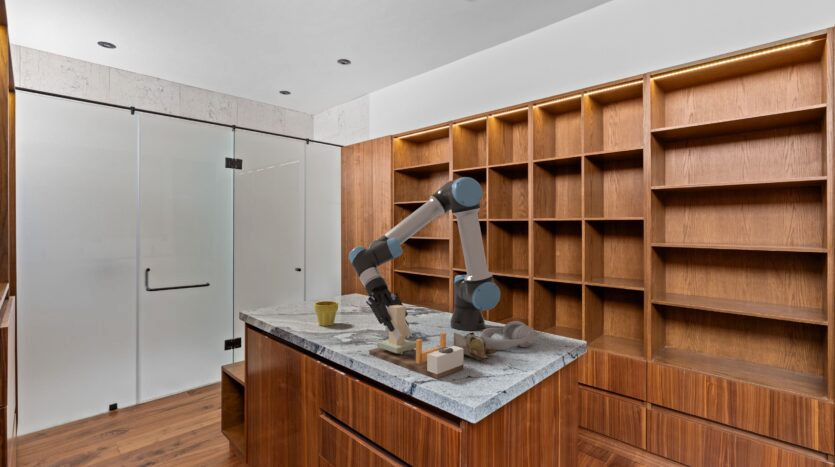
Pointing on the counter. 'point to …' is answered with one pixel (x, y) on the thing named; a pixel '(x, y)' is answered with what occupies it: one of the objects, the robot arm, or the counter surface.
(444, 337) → the frame
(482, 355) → the ceramic sculpture
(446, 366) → the cream rectangular block
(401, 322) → the upright wooden block
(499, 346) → the headphones
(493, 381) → the counter surface
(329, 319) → the plant pot
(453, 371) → the rail base
